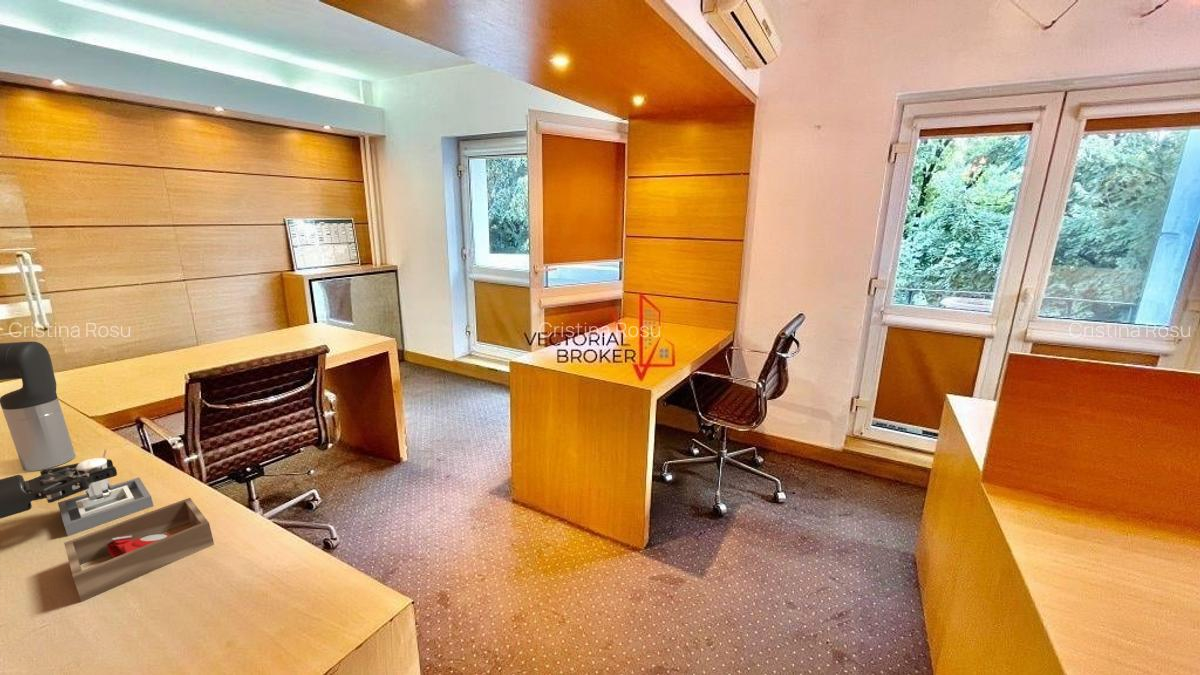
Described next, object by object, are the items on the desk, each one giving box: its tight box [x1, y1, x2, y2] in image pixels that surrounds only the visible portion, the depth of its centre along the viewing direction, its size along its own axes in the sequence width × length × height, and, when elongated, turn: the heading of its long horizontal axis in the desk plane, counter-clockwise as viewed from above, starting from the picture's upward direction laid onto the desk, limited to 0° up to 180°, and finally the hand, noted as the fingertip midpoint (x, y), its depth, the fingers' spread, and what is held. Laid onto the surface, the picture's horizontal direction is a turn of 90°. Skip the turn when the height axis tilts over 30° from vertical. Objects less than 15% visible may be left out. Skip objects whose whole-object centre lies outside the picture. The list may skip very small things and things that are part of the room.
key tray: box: [63, 497, 215, 602], centre depth 88 cm, size 14×18×5 cm
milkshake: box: [76, 449, 111, 501], centre depth 100 cm, size 5×5×10 cm
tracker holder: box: [104, 533, 171, 559], centre depth 87 cm, size 12×4×10 cm
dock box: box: [57, 477, 154, 537], centre depth 102 cm, size 13×13×2 cm
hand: (113, 467), depth 102 cm, fingers closed on milkshake, 4 cm apart
